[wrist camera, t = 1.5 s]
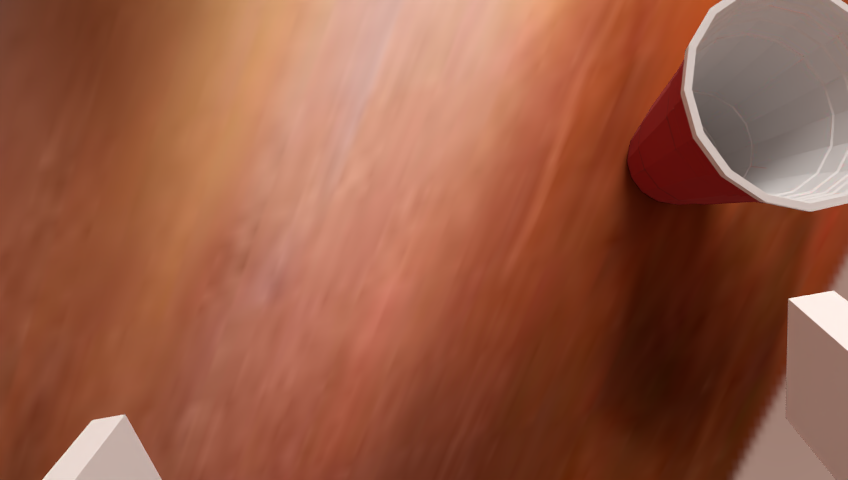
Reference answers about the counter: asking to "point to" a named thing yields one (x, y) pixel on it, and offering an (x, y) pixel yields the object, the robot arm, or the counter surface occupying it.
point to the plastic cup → (753, 110)
